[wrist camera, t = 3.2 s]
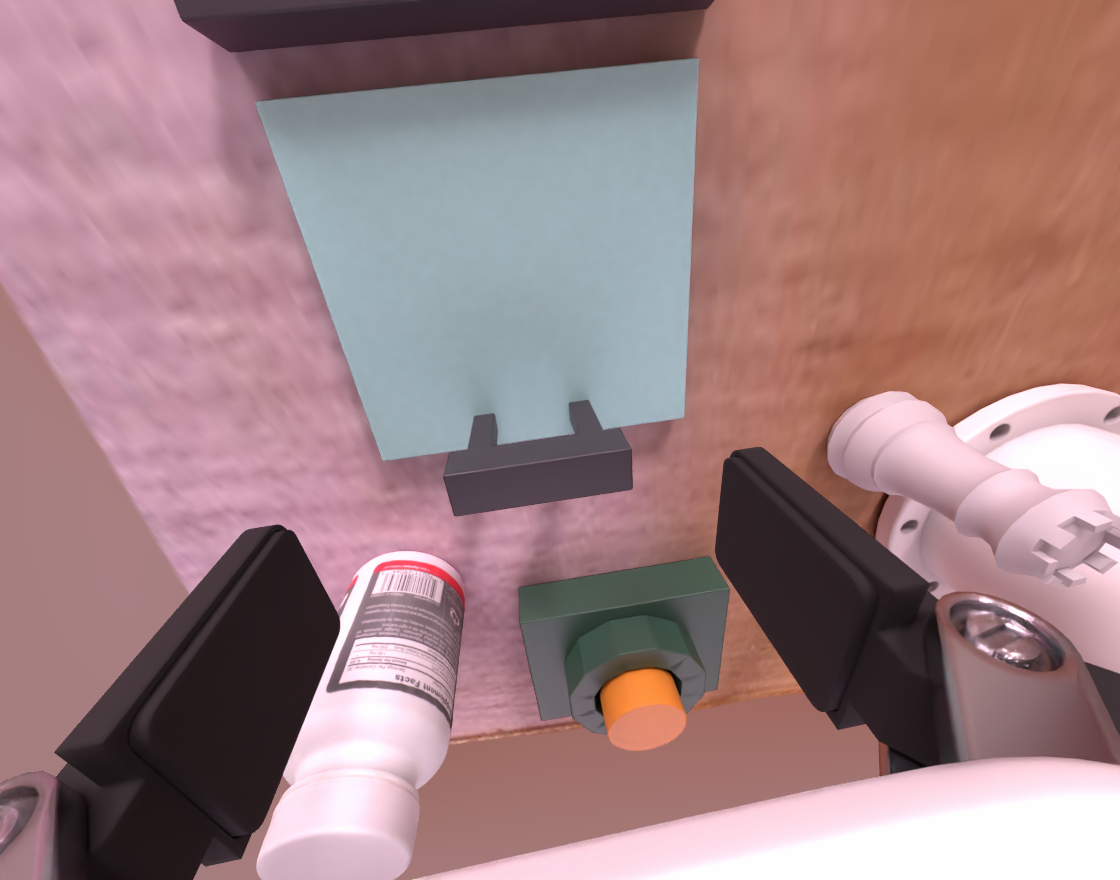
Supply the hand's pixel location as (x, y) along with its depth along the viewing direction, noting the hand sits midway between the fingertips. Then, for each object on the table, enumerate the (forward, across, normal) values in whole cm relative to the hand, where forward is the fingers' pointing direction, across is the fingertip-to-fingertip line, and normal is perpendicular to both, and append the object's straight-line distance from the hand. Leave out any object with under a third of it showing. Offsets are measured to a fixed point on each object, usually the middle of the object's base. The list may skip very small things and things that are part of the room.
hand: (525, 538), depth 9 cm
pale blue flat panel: (+8, -1, -4) cm, 9 cm away
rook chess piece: (+8, -16, +4) cm, 18 cm away
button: (+4, -4, +14) cm, 15 cm away
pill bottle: (+8, +6, +9) cm, 14 cm away
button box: (+8, -4, +14) cm, 16 cm away
